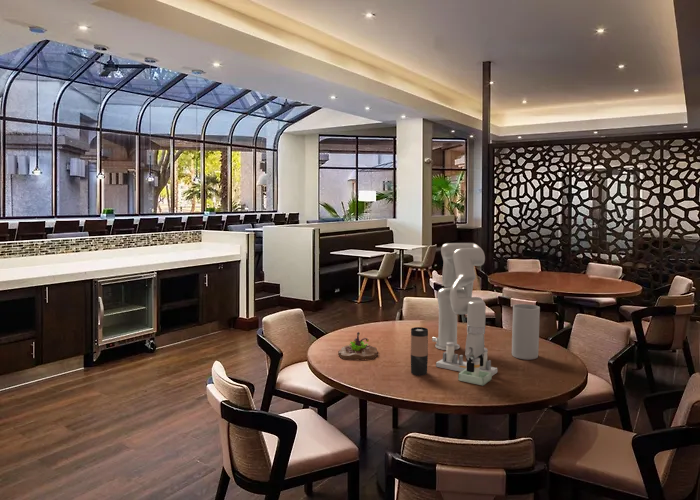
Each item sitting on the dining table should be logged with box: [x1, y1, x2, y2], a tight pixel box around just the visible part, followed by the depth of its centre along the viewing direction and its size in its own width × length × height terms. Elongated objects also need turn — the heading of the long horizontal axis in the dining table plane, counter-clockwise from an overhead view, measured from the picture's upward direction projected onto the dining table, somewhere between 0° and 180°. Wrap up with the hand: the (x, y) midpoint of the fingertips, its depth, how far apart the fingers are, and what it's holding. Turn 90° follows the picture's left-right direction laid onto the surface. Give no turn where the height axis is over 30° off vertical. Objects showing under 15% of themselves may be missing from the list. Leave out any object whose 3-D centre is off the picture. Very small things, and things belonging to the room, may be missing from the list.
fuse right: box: [480, 347, 489, 370], centre depth 237 cm, size 4×4×9 cm
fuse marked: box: [471, 357, 480, 377], centre depth 228 cm, size 4×4×9 cm
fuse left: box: [445, 342, 455, 363], centre depth 246 cm, size 4×4×9 cm
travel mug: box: [410, 326, 429, 376], centre depth 236 cm, size 8×8×20 cm
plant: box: [337, 331, 379, 361], centre depth 266 cm, size 20×20×11 cm
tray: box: [457, 369, 493, 387], centre depth 228 cm, size 11×9×3 cm
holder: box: [435, 351, 498, 377], centre depth 242 cm, size 26×9×6 cm, turn 54°
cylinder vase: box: [511, 303, 541, 361], centre depth 261 cm, size 12×12×25 cm
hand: (475, 368), depth 228 cm, fingers open, 9 cm apart
